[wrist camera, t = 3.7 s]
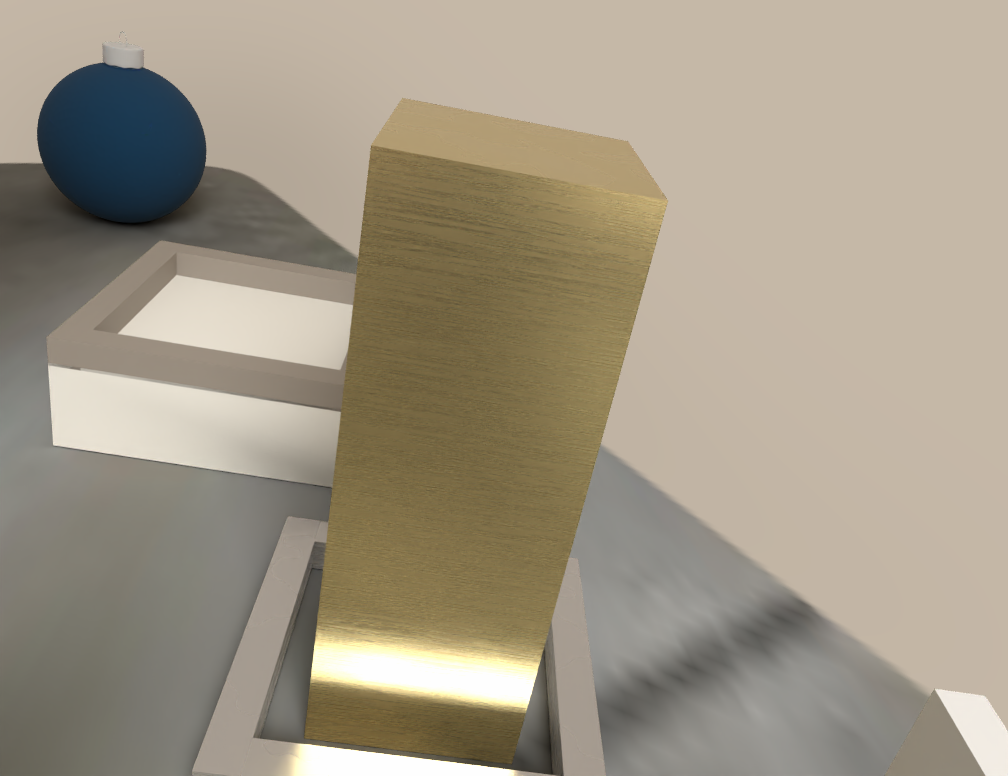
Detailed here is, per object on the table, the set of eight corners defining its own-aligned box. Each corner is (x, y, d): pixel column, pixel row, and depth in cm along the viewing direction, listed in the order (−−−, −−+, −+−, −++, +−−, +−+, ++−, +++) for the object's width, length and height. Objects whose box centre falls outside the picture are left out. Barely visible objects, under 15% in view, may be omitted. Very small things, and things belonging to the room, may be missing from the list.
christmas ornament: (231, 237, 49) (238, 54, 44) (78, 251, 43) (69, 42, 38) (163, 192, 54) (164, 23, 49) (18, 199, 48) (4, 8, 43)
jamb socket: (191, 802, 18) (191, 771, 18) (285, 542, 26) (288, 516, 26) (601, 850, 19) (611, 821, 18) (571, 583, 27) (578, 558, 26)
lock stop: (304, 738, 20) (371, 144, 14) (339, 595, 25) (402, 98, 18) (511, 764, 21) (667, 200, 14) (509, 619, 25) (627, 141, 19)
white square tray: (53, 445, 28) (46, 337, 26) (160, 327, 37) (160, 240, 35) (353, 490, 29) (365, 388, 27) (387, 364, 38) (398, 281, 36)
